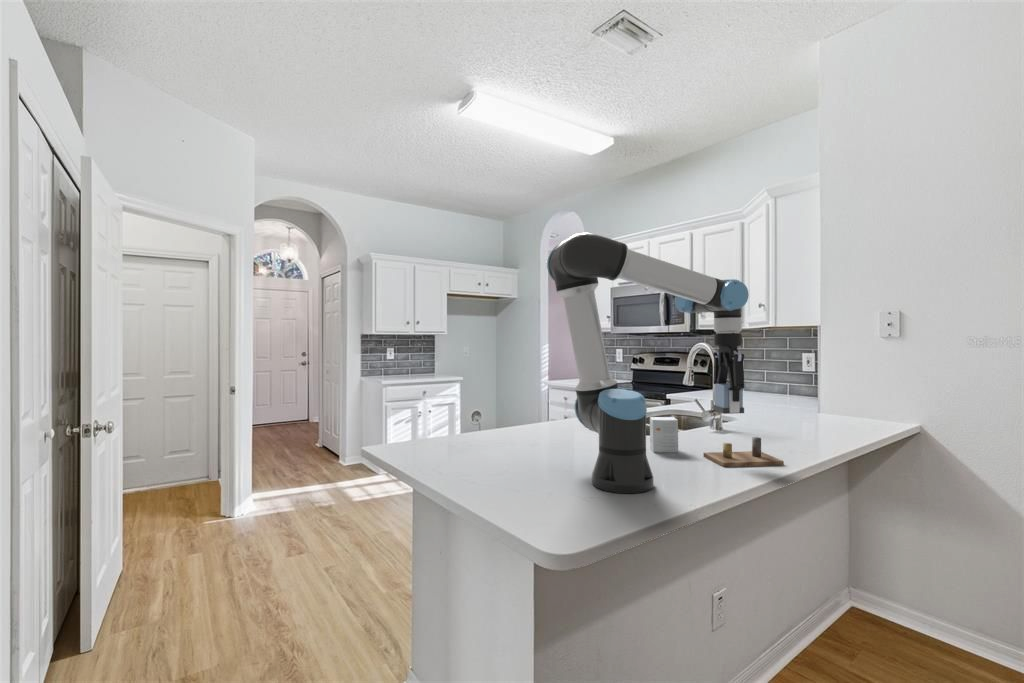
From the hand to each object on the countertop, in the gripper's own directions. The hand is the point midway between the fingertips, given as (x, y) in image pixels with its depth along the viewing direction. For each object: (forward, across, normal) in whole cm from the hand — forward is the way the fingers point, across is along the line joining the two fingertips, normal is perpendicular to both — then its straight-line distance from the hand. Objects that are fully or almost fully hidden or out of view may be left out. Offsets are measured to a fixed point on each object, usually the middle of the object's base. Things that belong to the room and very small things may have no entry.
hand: (728, 410), depth 146 cm
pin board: (+15, 0, -4) cm, 16 cm away
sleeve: (0, 0, 0) cm, 0 cm away
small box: (+15, +15, +14) cm, 26 cm away
